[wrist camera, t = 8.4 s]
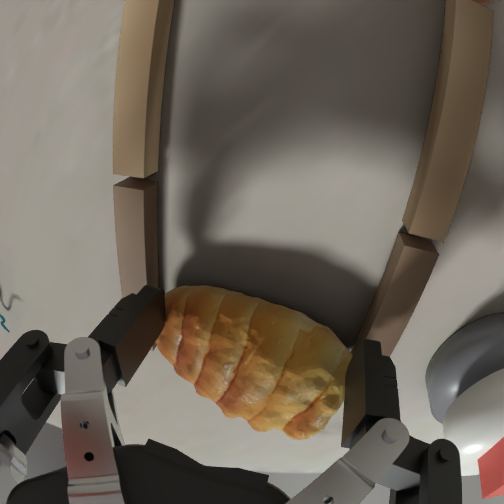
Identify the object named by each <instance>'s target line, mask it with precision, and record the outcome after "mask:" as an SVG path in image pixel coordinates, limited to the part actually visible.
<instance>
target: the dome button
mask: <svg viewBox="0 0 504 504" xmlns="http://www.w3.org/2000/svg"><path fill="white" fill-rule="evenodd" d="M443 430H444V436H445V439H447V440H449V441H451V442H452V443H454V444H455V445H456V447H457V448H458V450H459V454H460V464H461V476H470V475H477V474H480V480H481V489H482V498H483V499H484V498H489V497H494V496H499V495H504V368H503V369H501V370H498V371H496V372H494V373H492V374H490V375H488V376H487V377H485V378H483V379H481V380H480V381H478V382H477V383H475V384H474V385H472V386H471V387H469V388H468V389H467V390H466V391H464V392H463V393H462V394H461V395H460V396H459V397H458V398H457V399H456V400H455V401H454V402H453V403H452V404H451V405H450V407H449V408H448V410H447V411H446V413H445V415H444V418H443Z"/></svg>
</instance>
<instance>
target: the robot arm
mask: <svg viewBox="0 0 504 504" xmlns="http://www.w3.org/2000/svg"><path fill="white" fill-rule="evenodd" d="M165 321H166V312H165V293H164V290H163V289H160V288H156V287H153V286H150V285H145V286H144V287H143V288H142V289H141V290H140V291H139V292H138V293H137V294H134V293H131V294H129V295H128V296H126V297H124V298H122V299H121V300H120V301H119V302H118V303H117V304H116V306H115V308H113V309H112V310H111V311H110V312H109V315H107V316H106V317H105V318H104V319H103V320H102V321H101V323H100V324H99V325H98V326H97V327H96V328H95V329H94V331H93V332H92V333H91V334H90V335H89V336H88V337H80V338H76V339H74V340H72V341H71V342H69V343H68V344H60V343H53V342H50V341H49V339H48V336H47V335H46V333H44V332H43V331H40V330H31V331H28V332H26V333H25V334H23V335H22V336H21V337H20V338H19V339H18V340H17V342H16V343H15V344H14V345H13V346H12V347H11V348H10V349H9V351H8V352H7V353H6V354H5V355H4V356H3V358H2V359H1V360H0V503H1V504H359V503H360V502H361V501H362V500H363V499H364V498H365V497H366V496H367V495H368V494H369V493H370V492H371V490H372V489H373V488H374V485H375V484H376V483H378V484H380V485H383V486H386V487H388V488H391V489H390V500H389V504H462V482H461V464H460V454H459V450H458V448H457V447H456V445H455V444H454V443H452V442H451V441H449V440H447V439H438V440H435V441H434V442H432V443H431V444H428V443H425V442H423V441H420V440H418V439H415V438H413V437H412V436H410V435H409V432H408V429H407V428H406V426H405V425H404V424H403V423H402V422H401V420H400V409H399V397H398V388H397V380H396V369H395V365H394V364H393V362H392V360H391V358H390V357H389V356H384V355H382V350H381V343H380V341H375V340H370V339H365V338H362V339H361V340H360V341H359V344H358V346H357V348H356V350H355V352H354V354H353V356H352V358H351V360H350V363H349V365H348V368H347V371H346V377H345V396H344V414H343V429H342V441H341V447H345V448H350V450H349V451H348V452H347V453H346V454H345V455H344V456H343V457H342V458H340V459H338V460H337V461H336V462H335V463H334V464H333V465H331V466H330V467H329V468H328V469H327V470H326V471H325V472H323V473H322V474H321V475H320V476H319V477H318V478H317V479H315V480H314V481H313V482H312V483H311V484H309V485H308V486H307V487H306V488H305V489H303V490H302V491H301V492H300V493H298V494H297V495H296V496H294V497H293V498H292V499H290V498H289V497H288V496H287V495H286V494H285V493H284V492H283V491H282V490H280V489H279V488H278V487H276V486H274V485H273V484H270V483H268V482H267V481H268V477H269V475H266V474H261V473H257V472H252V471H248V470H244V469H240V468H226V467H210V466H204V465H202V464H200V463H198V462H197V461H195V460H193V459H192V458H190V457H188V456H187V455H185V454H183V453H182V452H180V451H179V450H177V449H175V448H172V447H169V446H166V445H164V444H161V443H159V442H156V441H153V440H151V439H148V441H147V443H146V445H139V444H131V445H125V443H124V440H123V437H122V434H121V430H120V425H119V421H118V416H117V410H116V405H115V399H114V393H113V388H114V387H115V385H116V384H119V385H122V386H124V387H126V386H127V384H128V383H129V381H130V380H131V378H132V377H133V375H134V373H135V372H136V370H137V369H138V367H139V366H140V364H141V363H142V361H143V360H144V358H145V357H146V355H147V354H148V352H149V351H150V349H151V348H152V346H153V344H154V343H155V341H156V340H157V338H158V337H159V335H160V334H161V332H162V331H163V328H164V326H165ZM32 380H33V381H32ZM31 381H32V382H31ZM30 382H31V383H30ZM29 384H30V385H29ZM28 385H29V386H28ZM27 386H28V388H27ZM26 388H27V389H26ZM25 389H26V390H25ZM24 390H25V392H24ZM23 392H24V393H23ZM60 399H61V418H62V430H63V441H64V451H65V459H66V467H64V468H61V469H58V470H55V471H52V472H49V473H46V474H43V475H40V476H37V477H34V478H31V479H27V480H24V477H25V476H26V474H27V469H26V468H27V460H26V457H25V454H26V453H27V451H28V450H29V448H30V446H31V445H32V443H33V441H34V440H35V438H36V436H37V435H38V433H39V432H40V430H41V429H42V427H43V425H44V424H45V422H46V421H47V419H48V418H49V416H50V415H51V413H52V411H53V410H54V408H55V407H56V405H57V404H58V402H59V401H60Z"/></svg>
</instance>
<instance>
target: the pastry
mask: <svg viewBox="0 0 504 504" xmlns="http://www.w3.org/2000/svg"><path fill="white" fill-rule="evenodd" d="M165 312H166V321H165V326H164V328H163V331H162V332H161V334H160V335H159V337H158V338H157V340H156V341H155V342H156V344H157V347H158V349H159V350H160V352H161V354H162V355H163V356H164V357H165V358H166V359H167V360H168V361H169V362H170V363H171V364H173V366H174V370H175V371H176V373H177V374H178V375H179V376H181V377H182V378H184V379H185V380H188V381H189V382H191V383H193V384H194V387H195V389H196V392H197V393H198V394H199V395H200V396H203V397H205V398H209V399H211V400H213V401H214V402H215V403H216V404H217V405H218V406H219V407H220V408H221V409H222V411H223V413H224V415H225V416H226V417H229V418H236V417H243V418H244V419H245V420H246V421H247V422H248V423H249V424H250V426H251V427H252V428H253V429H255V430H257V431H259V432H266V431H269V430H272V429H279V430H281V431H283V432H284V433H285V434H287V435H288V436H289V437H290V438H292V439H297V440H303V439H308V438H309V437H311V436H313V435H314V434H316V433H318V432H319V431H321V430H322V429H324V427H325V426H326V425H327V423H328V421H329V419H330V418H331V417H332V416H333V415H334V414H335V413H336V412H337V411H338V409H339V408H340V406H341V404H342V403H343V401H344V396H345V377H346V371H347V368H348V365H349V363H350V360H351V358H352V356H353V355H352V354H351V352H350V351H349V350H348V349H347V348H346V347H345V345H344V344H343V343H342V342H341V341H340V340H339V339H338V337H337V336H336V335H335V334H334V332H333V331H332V330H331V329H330V328H329V327H328V326H323V325H321V324H319V323H317V322H315V321H313V320H312V319H310V318H309V317H307V315H306V314H304V313H301V312H299V311H295V310H292V309H289V308H287V307H285V306H283V305H276V304H272V303H270V302H268V301H265V300H263V299H260V298H259V297H250V296H247V295H244V294H243V293H242V292H239V293H238V292H235V291H232V290H228V289H224V288H219V287H212V286H208V285H203V286H185V285H184V286H180V287H177V288H175V289H173V290H171V291H169V292H167V293H166V295H165Z"/></svg>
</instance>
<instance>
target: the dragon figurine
mask: <svg viewBox="0 0 504 504" xmlns="http://www.w3.org/2000/svg"><path fill="white" fill-rule="evenodd" d="M0 318H1V319H2V320H3V321H1V325H2V326H3V328H4V329H5V330H7V331H8V332H9V330H8V329H7V328H6V327H5V325H4V324H3V323H4V322H5V319H4V317H3V316H2V315H1V314H0Z"/></svg>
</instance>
